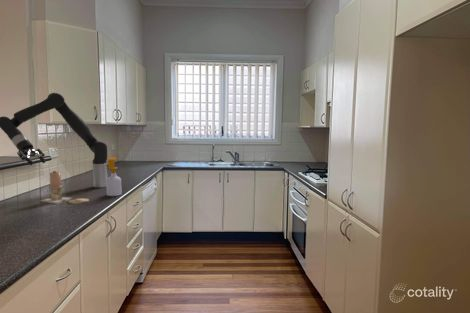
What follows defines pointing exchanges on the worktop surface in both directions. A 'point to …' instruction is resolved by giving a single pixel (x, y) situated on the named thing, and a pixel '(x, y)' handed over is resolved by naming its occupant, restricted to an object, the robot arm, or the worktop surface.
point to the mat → (78, 201)
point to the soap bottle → (113, 180)
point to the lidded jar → (55, 180)
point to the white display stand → (56, 197)
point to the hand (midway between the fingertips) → (38, 163)
